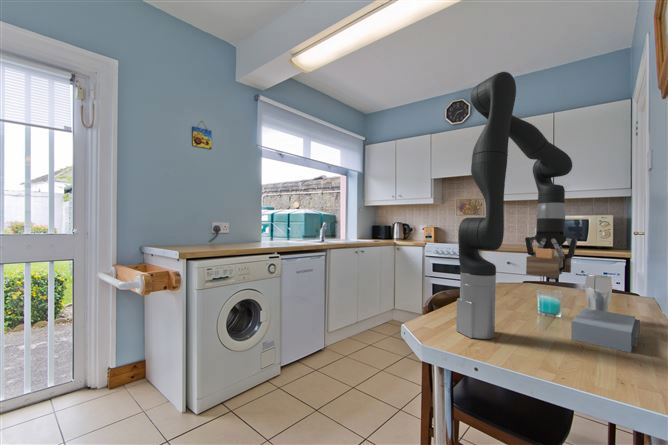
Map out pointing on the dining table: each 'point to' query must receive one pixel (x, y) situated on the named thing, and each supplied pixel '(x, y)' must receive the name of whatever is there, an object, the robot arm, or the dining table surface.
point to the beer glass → (598, 292)
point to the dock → (606, 329)
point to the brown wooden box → (546, 266)
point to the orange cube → (545, 253)
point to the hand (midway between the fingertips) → (549, 270)
